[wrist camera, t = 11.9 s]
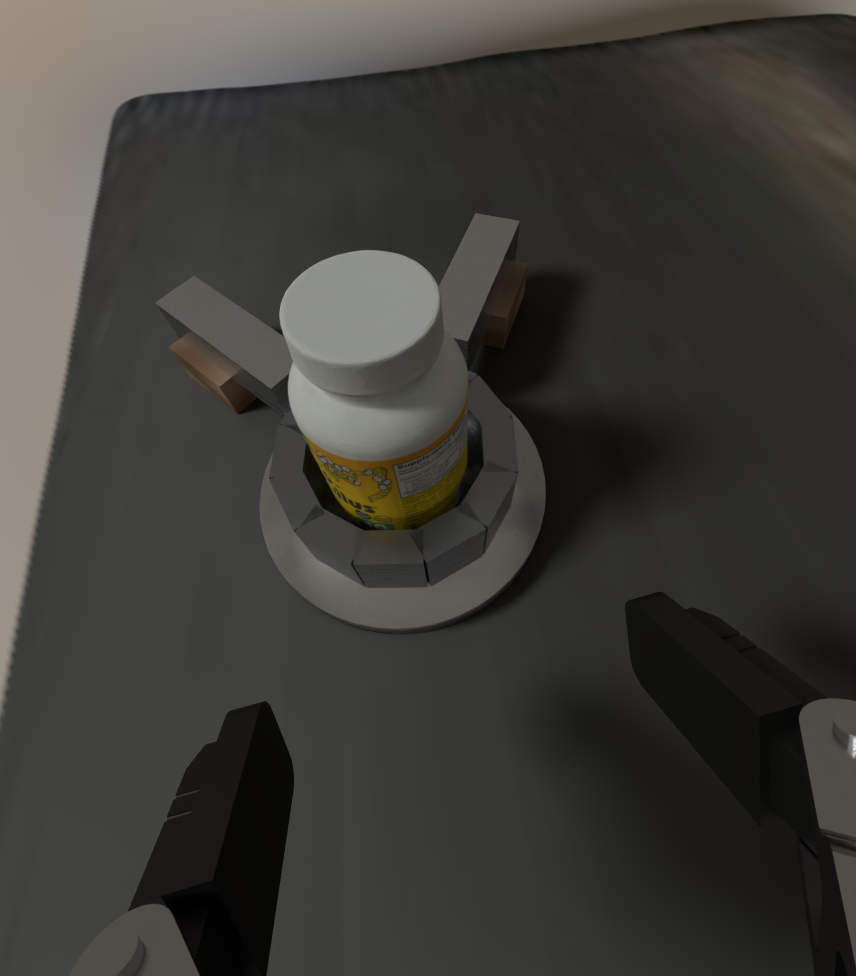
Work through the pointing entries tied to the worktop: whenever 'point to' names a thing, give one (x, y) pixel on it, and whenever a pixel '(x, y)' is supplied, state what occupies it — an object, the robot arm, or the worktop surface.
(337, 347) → the supplement bottle
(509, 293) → the blocks
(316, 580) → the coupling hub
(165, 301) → the angled shafts
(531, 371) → the worktop surface
